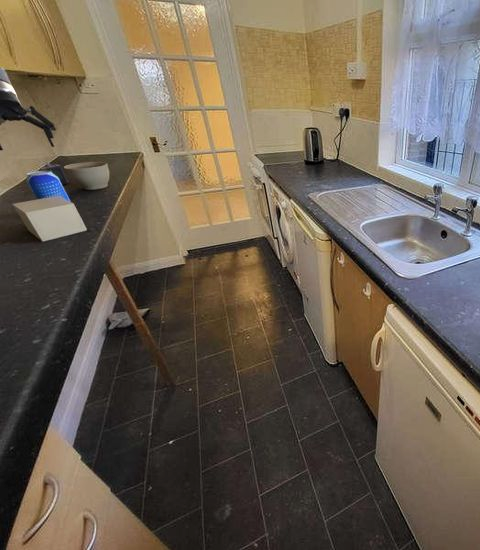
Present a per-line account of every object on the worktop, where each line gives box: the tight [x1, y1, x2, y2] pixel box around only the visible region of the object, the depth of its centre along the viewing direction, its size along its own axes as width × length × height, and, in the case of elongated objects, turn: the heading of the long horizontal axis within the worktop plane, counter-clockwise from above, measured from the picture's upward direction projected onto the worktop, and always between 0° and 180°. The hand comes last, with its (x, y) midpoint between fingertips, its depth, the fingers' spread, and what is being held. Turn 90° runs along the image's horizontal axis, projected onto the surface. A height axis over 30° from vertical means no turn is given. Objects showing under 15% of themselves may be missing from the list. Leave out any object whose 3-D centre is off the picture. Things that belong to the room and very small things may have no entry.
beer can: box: [25, 170, 72, 203], centre depth 110 cm, size 8×8×16 cm
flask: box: [39, 162, 69, 185], centre depth 148 cm, size 9×3×11 cm, turn 173°
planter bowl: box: [63, 161, 110, 191], centre depth 145 cm, size 16×16×11 cm
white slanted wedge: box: [12, 196, 88, 242], centre depth 99 cm, size 15×12×10 cm
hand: (27, 146), depth 109 cm, fingers open, 13 cm apart
